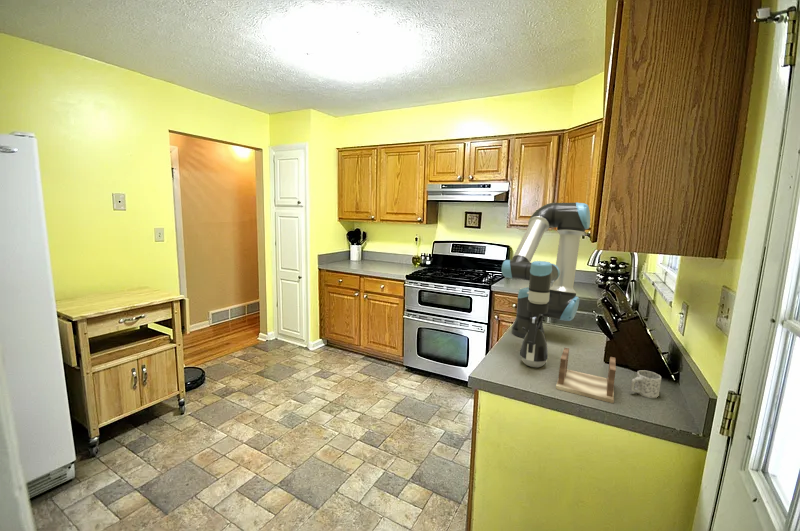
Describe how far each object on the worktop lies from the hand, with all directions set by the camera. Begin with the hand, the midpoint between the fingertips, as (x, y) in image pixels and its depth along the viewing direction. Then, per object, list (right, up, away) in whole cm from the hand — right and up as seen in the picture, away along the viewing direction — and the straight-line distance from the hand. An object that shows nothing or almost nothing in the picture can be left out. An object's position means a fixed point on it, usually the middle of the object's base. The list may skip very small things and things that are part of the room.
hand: (533, 354), depth 140 cm
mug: (+29, -9, -20) cm, 36 cm away
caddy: (+12, -7, -15) cm, 21 cm away
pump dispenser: (0, -4, +1) cm, 5 cm away
